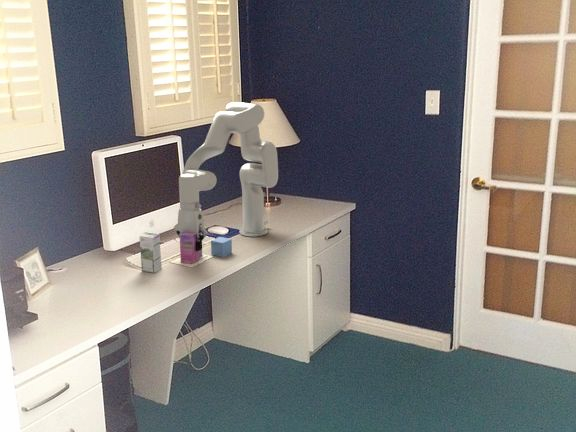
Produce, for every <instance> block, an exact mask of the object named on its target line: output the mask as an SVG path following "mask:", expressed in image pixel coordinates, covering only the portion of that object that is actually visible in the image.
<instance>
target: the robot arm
mask: <svg viewBox="0 0 576 432" xmlns="http://www.w3.org/2000/svg"><path fill="white" fill-rule="evenodd" d="M264 118H265V110H264V108H263V107H262V105H260V104H258V103H257V104H256V103H249V102H240V101H235V102H234V101H233V102H230V103H228V104H227V105H226V107H225V111H224V110H223V111H219V112H217V113H216V114H215V115H214V117H213V120H212V122H211V125H210V126H209V127H210V128H209V130H208V132H207V134H206V138H205V141H204V142H203V144H202V145H201V146H199V147H198V148H196V150H194V152H193V153H191V155H190V156H189V157H188V158H187V160H186V162H185V165H184V168H183V170H182V173H181V174H180V175H179V177H178V190H179V195H178V196H179V209H178V213H177V215H178V216H177V223H176V225H174V226H173V229H174V230H175V232H176V234H177V235H178V238H179V239H180V234H181V233H182V232H188V233H193V234H195V235H196V240H197V241H196V251H200V250H202V251H203V240H204V239H205V238H206V237H207V235H208V234H209V232H208V231H207V229H205V221H204V214H203V211H202V204H200V192H201V191H202V192H203V191H204V192H205V191H210V190H212V189H213V188H214V187H216V185H217V181H218V179H217V177H216V175H215V173H214V172H212V171H209V170H203V169H199V168H200V166H201V165H202V164H203V163H204V162H206V160H209V159H210V158H213V157H216V156H218V155H221V154H222V153H224V152H225V150H226V146H227V144H228V142H229V139H230V136H231V134H237V135H239V139H240V140H239V141H240V151H241V157H242V158H243V160H245V161H248V162H247V163H244V164H243V165H242V166H241V167H240V170H239V180H240V185H241V195H242V199H241V201H242V203H241V204H242V207H241V208H242V227H241V228H240V229H239V234H240V235H242V236H244V237H261V236H265V235H267V234H268V229H267V228H266V227H265V226H266V225H267V224H269V220H268V219H265V211H264V209H265V201H264V200H265V194H264V191H263V188H268V189H269V188H274V187H275V186H277V184H278V181H279V161H278V150H277V147H276V145H275V144H274V143H273V142H272V141H267V140H262V139H261V135H260V134H261V133H260V127H259V125H260V124H261V123H262V122H263V120H264ZM201 233H202V234H201ZM198 235H199V237H198Z"/></svg>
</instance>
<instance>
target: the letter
mask: <svg viewBox="0 0 576 432" xmlns="http://www.w3.org/2000/svg"><path fill="white" fill-rule="evenodd" d="M213 258H214V255H208V254H204V253H202V256H201V257H200V258H199V259H198V260H197V261H196V262H195V263H194V264H190V263H181V257H177V258H176V259H174V260H171V261H169V263H171V264H175V265H179V266H183V267H188V268H194V267H196V266H199V265H200V264H202V263H204V262H206V261H208V260H210V259H213Z"/></svg>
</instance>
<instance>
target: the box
mask: <svg viewBox="0 0 576 432" xmlns="http://www.w3.org/2000/svg"><path fill="white" fill-rule="evenodd" d="M201 234H203V233H201ZM198 237H199V235H198ZM196 241H197V240H196V235H195V234H193V233H188V232H182V233H181V234H180V238H179V245H180V247H179V248H180V255H179V256H180V257H181V263H190V264H194V263H195V262H196V261H197V260H198V259H199V258H200V257H201V256H202V254H203V249H202V250H200V251H196Z"/></svg>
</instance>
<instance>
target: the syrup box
mask: <svg viewBox="0 0 576 432" xmlns="http://www.w3.org/2000/svg"><path fill="white" fill-rule="evenodd" d="M160 235H161V234H160V232H159V233H158V232H152V231H145V232H143V233H142V234H140V235H139V246H140V248H139V249H140V263H141V271H142V272H143V273H151V274H155V273H157V272H159V271H160V270H162V255H161V254H162V253H161V236H160Z"/></svg>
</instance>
